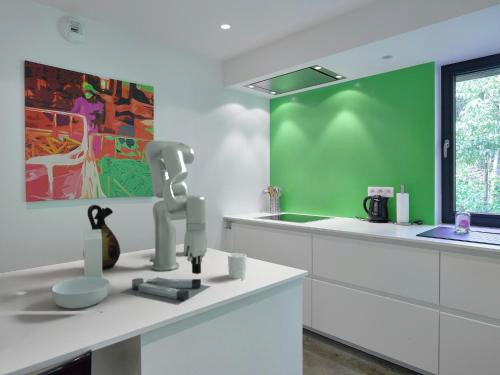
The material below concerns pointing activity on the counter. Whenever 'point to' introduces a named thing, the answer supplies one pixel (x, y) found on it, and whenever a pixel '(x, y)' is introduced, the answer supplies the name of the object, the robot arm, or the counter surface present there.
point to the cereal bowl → (80, 292)
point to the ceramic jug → (105, 236)
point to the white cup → (237, 265)
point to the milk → (93, 253)
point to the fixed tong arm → (164, 291)
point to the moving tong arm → (168, 283)
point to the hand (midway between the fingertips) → (196, 273)
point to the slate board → (161, 298)
